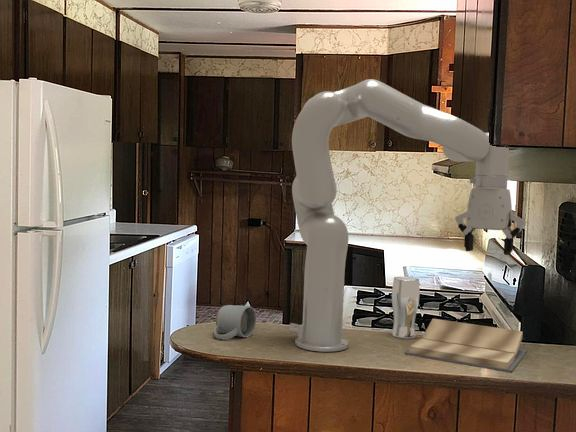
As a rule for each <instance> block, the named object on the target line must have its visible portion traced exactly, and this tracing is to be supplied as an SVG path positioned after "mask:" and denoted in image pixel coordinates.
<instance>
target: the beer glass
mask: <svg viewBox="0 0 576 432" xmlns="http://www.w3.org/2000/svg"><path fill="white" fill-rule="evenodd" d="M392 282H393V283H392V291H391V304H392V305H391V306H392V312H393V327H392V331H391V336H392V337H394V338H398V339H405V340H406V339H407V340H410V339H415V338H416V329H415V328H416V326H415V323H416V316H417V312H418V307H419V302H420V278H417V277H411V276H395V277H393V281H392Z"/></svg>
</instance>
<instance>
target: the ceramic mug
mask: <svg viewBox="0 0 576 432" xmlns="http://www.w3.org/2000/svg"><path fill="white" fill-rule="evenodd" d="M256 315H257V314H256V311H255V309H254V308H253V306H250V305H233V304H227V305H223V306H221V307H219V309H218V310H217V313H216V316H215V327H214V329H213V334H214V337H215V338H216V339H217V338H218V339H217V340H219V339H222V340H221V341H227V340H230V339H232V338H234V337H235V336H236V337H239V338H245V337H246V338H248V337H247V336H249V337H251V336H252V335H253V333H254V331H255V329H256V328H255V327H256V325H257V324H256V323H257V316H256ZM218 332H220V333H222V334H219V333H218ZM224 333H225V334H224Z"/></svg>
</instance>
